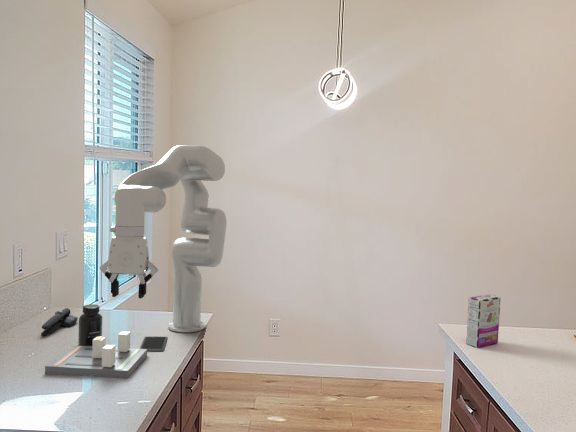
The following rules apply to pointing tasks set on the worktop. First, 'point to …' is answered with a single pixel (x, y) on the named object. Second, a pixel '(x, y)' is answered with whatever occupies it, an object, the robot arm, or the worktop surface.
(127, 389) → the worktop surface
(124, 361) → the breaker board
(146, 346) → the cell phone
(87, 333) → the supplement bottle
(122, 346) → the block
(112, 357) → the block
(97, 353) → the handle
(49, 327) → the can opener
